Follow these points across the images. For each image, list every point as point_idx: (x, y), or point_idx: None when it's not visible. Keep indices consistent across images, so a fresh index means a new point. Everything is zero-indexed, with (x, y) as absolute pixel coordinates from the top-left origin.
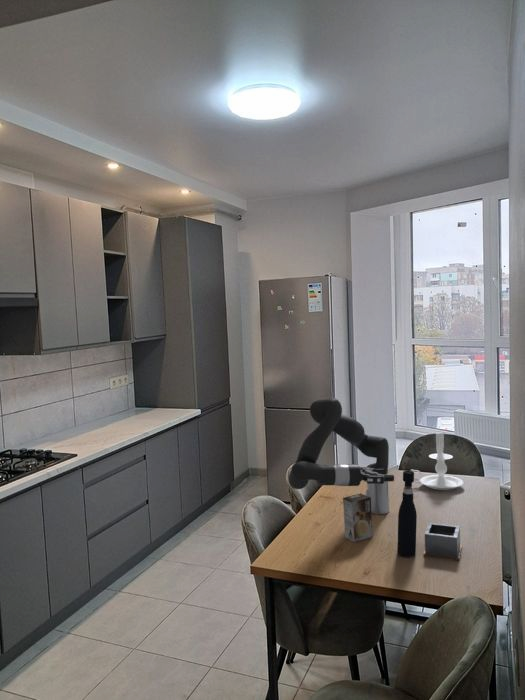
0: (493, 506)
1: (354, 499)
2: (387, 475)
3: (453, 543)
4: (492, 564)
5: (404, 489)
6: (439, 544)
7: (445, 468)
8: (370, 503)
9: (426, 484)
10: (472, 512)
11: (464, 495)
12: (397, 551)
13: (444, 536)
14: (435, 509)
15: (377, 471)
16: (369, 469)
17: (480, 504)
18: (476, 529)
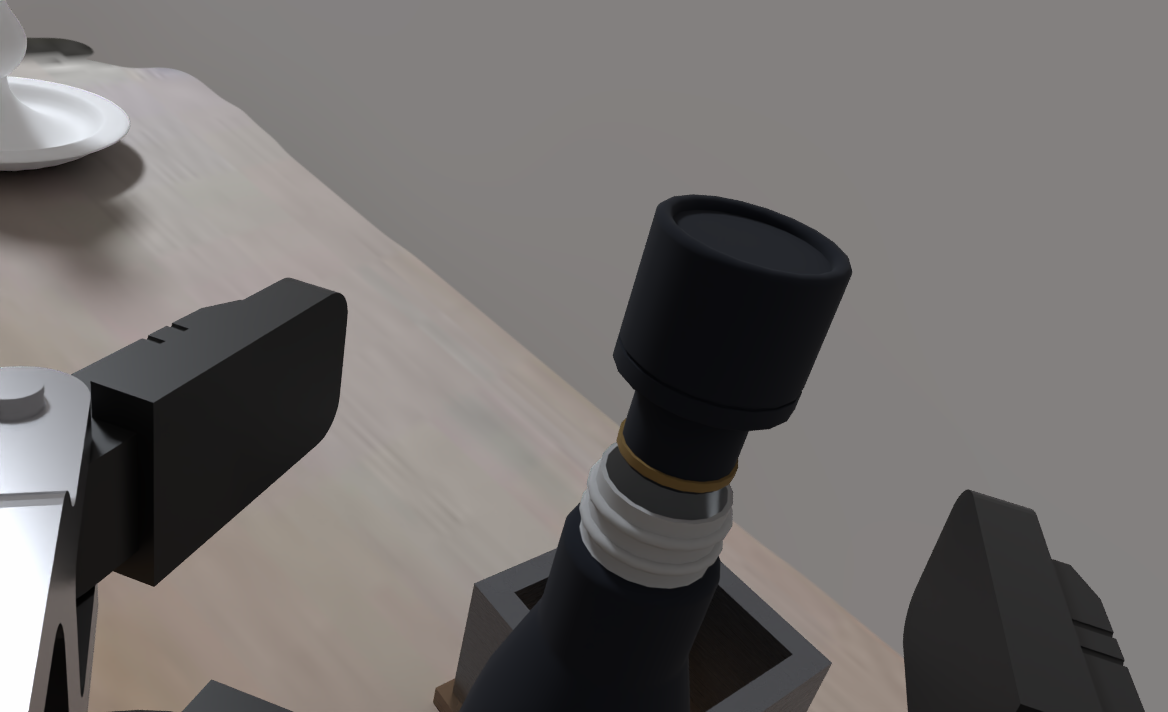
0: (362, 220)
1: None
2: (1070, 640)
3: (796, 708)
4: (894, 670)
5: (657, 534)
6: None
7: (22, 38)
8: None
9: None
10: (331, 284)
11: (171, 181)
12: None
13: (769, 706)
14: (130, 324)
15: (204, 433)
16: (51, 628)
17: (301, 221)
18: (490, 404)
